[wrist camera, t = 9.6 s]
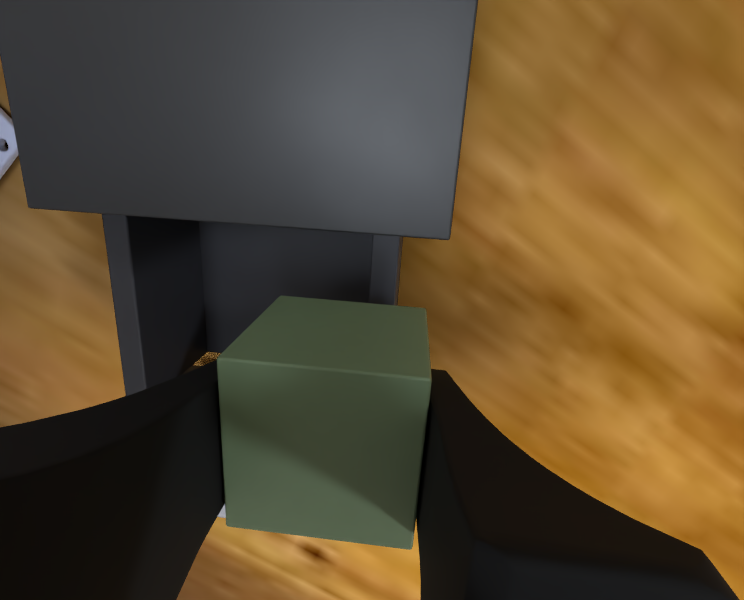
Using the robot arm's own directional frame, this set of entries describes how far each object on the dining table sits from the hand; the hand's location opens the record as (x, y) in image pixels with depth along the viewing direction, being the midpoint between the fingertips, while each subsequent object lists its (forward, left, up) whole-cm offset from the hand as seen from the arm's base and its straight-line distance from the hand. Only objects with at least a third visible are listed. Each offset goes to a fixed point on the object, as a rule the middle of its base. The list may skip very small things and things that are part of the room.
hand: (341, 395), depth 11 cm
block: (0, 0, -1) cm, 1 cm away
